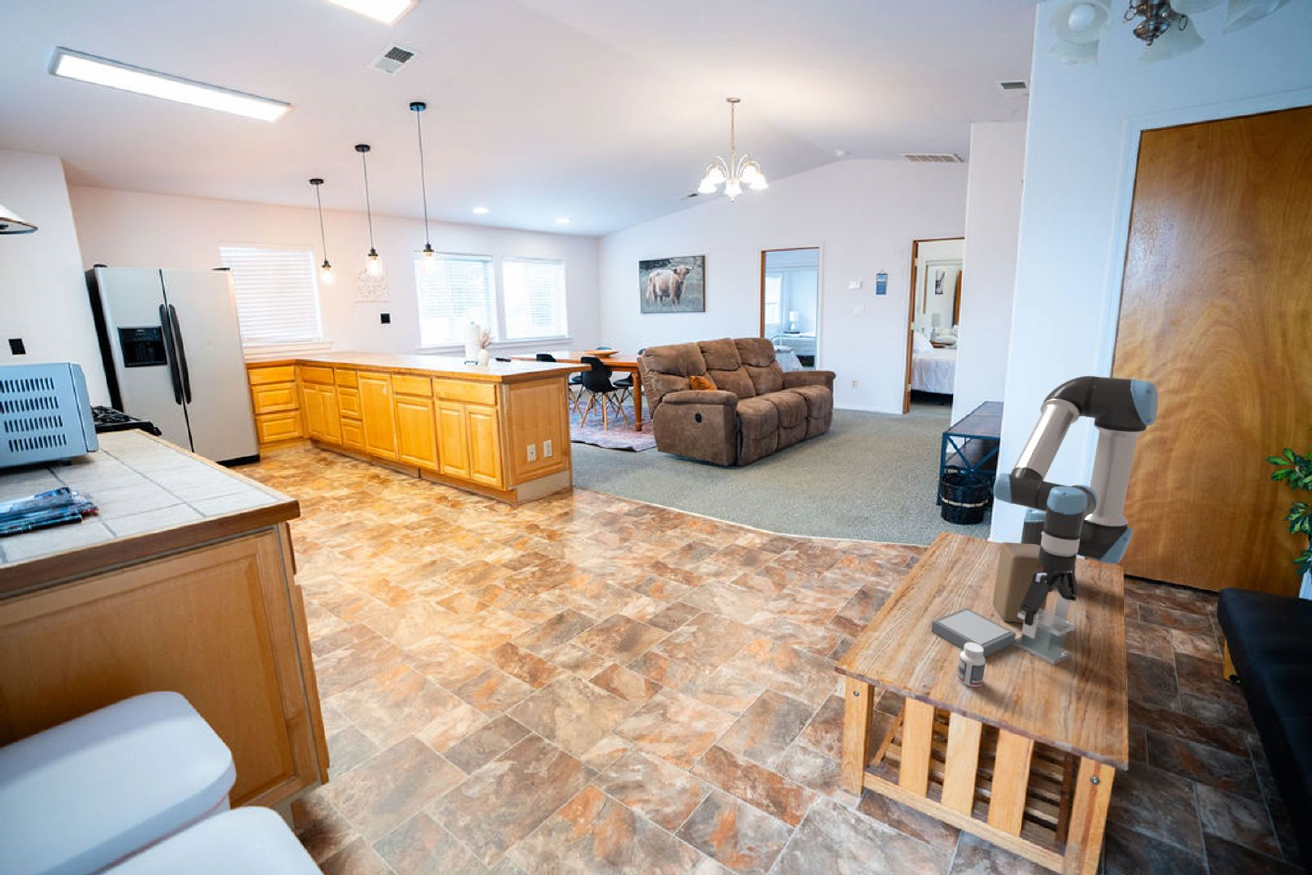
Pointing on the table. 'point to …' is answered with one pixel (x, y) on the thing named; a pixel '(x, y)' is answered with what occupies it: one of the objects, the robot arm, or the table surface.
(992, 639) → the stand
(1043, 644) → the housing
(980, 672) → the pill bottle
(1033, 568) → the wooden block
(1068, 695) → the table surface
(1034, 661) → the table surface
